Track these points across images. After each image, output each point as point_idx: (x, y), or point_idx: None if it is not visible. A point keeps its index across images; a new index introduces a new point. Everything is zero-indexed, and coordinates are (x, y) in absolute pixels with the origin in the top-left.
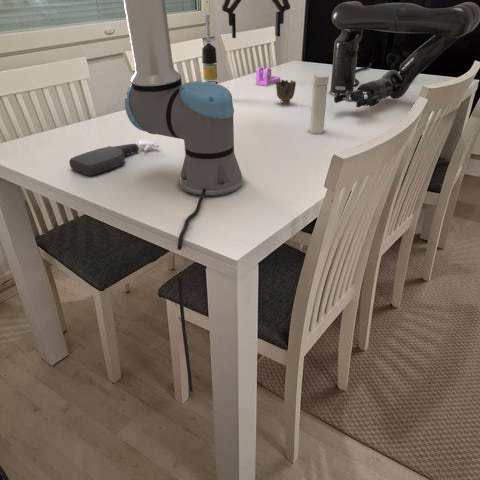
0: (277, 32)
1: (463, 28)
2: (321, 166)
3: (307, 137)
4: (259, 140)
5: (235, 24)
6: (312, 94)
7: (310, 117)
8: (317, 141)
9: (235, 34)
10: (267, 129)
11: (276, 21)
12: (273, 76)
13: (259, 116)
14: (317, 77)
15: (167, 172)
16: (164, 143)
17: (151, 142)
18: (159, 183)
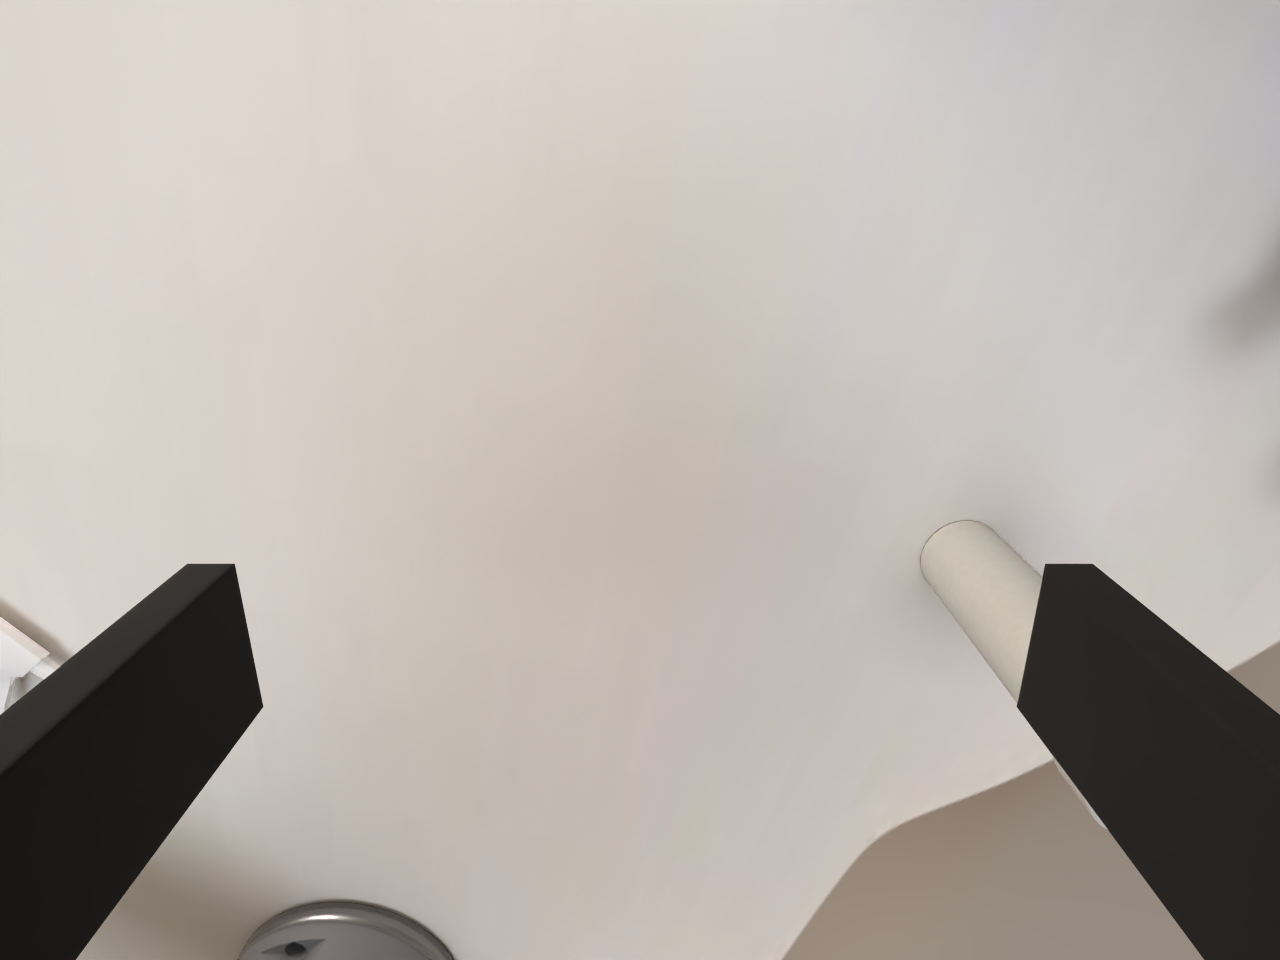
0: (1049, 743)
1: None
2: (789, 929)
3: (871, 632)
4: (605, 624)
5: (124, 891)
6: (1019, 690)
7: (953, 594)
8: (896, 694)
9: (228, 748)
10: (692, 461)
11: (1201, 789)
12: None
13: (707, 157)
14: (1099, 822)
15: (172, 878)
16: (82, 567)
17: (8, 657)
18: (160, 951)
